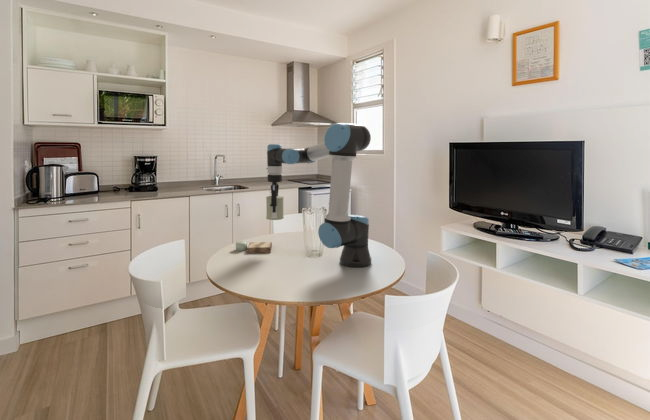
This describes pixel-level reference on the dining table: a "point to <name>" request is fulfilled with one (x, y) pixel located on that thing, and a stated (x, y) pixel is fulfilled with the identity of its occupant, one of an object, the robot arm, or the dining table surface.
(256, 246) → the stand
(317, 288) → the dining table surface
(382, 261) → the dining table surface
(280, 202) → the can
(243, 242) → the pale green rounded block
